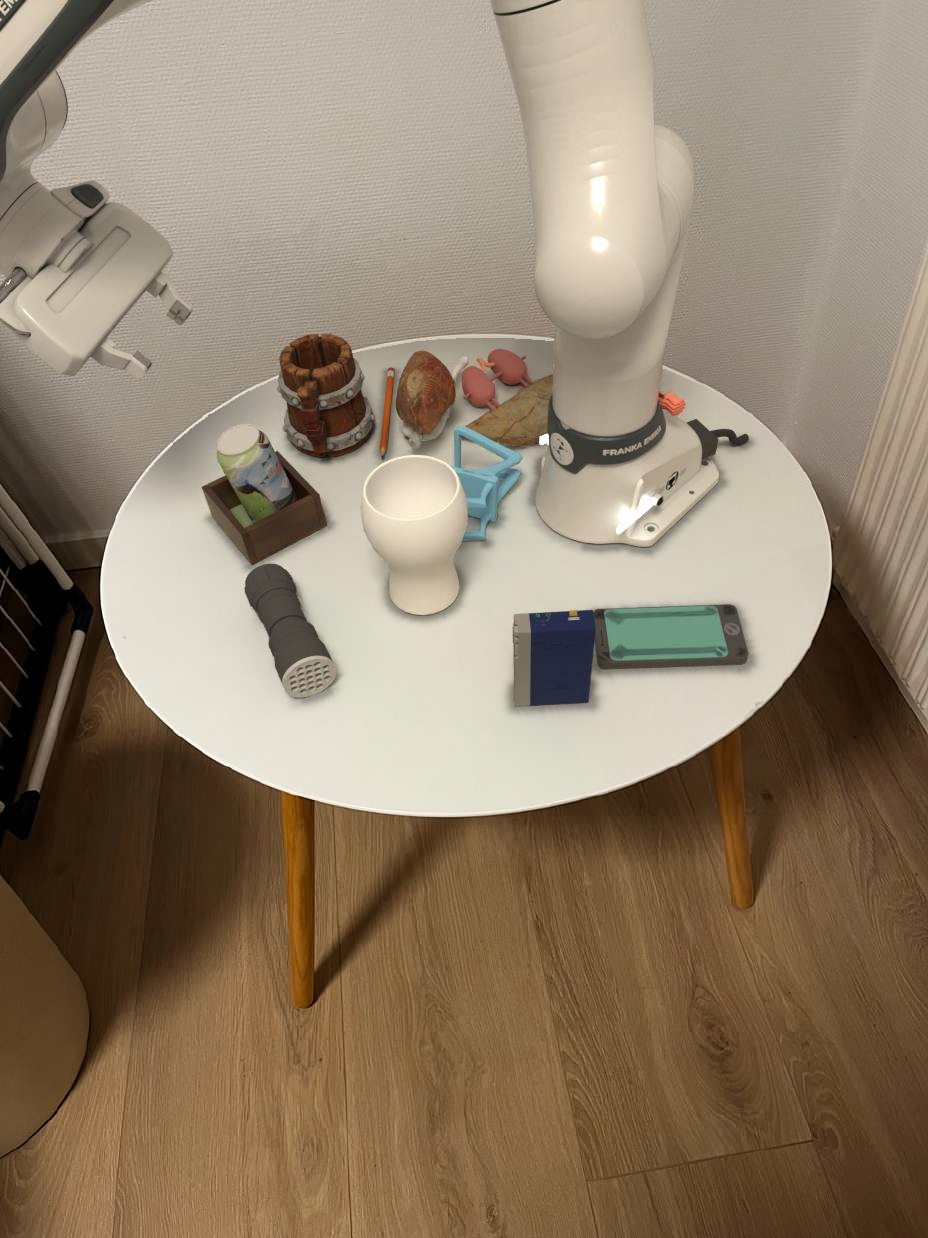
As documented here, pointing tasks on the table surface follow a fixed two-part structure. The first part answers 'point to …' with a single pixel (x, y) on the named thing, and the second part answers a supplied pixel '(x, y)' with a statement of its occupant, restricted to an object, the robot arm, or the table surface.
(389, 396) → the pencil
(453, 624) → the table surface
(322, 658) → the flashlight
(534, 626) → the blue rectangular block
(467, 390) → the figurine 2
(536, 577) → the table surface
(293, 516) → the can holder
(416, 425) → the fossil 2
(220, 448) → the beverage can
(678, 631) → the smartphone
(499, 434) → the fossil
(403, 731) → the table surface
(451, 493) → the cup
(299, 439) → the mug
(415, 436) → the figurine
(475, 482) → the chair
